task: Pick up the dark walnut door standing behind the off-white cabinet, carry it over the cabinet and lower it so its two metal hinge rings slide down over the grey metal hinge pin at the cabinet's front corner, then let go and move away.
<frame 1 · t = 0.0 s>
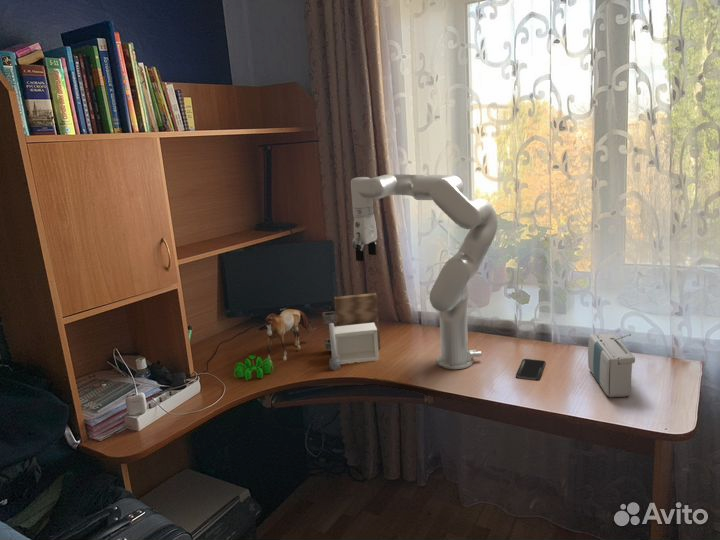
hand: (366, 257, 212), 37 cm above the table, tool pointing down, fingers open, 9 cm apart
cabinet: (356, 358, 217), on the table
stereo radio cassette player: (609, 384, 182), on the table
green lumpy cluster: (254, 374, 210), on the table
phone: (531, 371, 196), on the table
horse figurine: (295, 355, 224), on the table
walnut door: (359, 349, 225), on the table
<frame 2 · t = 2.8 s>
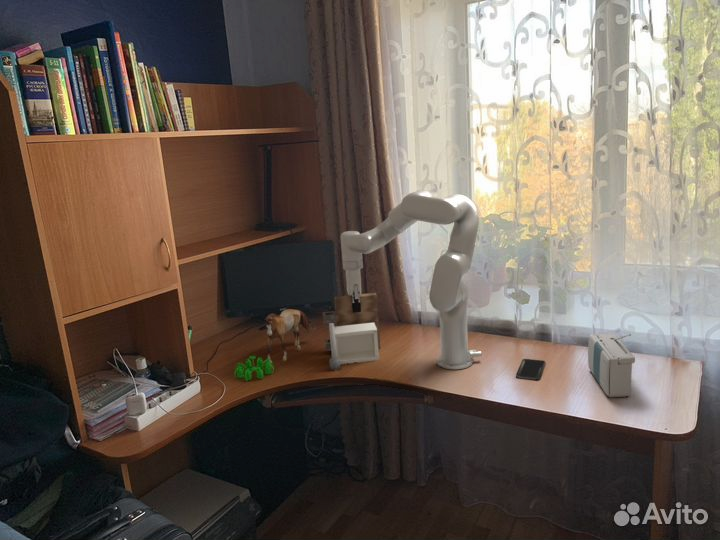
hand: (356, 310, 221), 16 cm above the table, tool pointing down, fingers closed on walnut door, 3 cm apart
walnut door: (359, 349, 225), on the table, touching gripper
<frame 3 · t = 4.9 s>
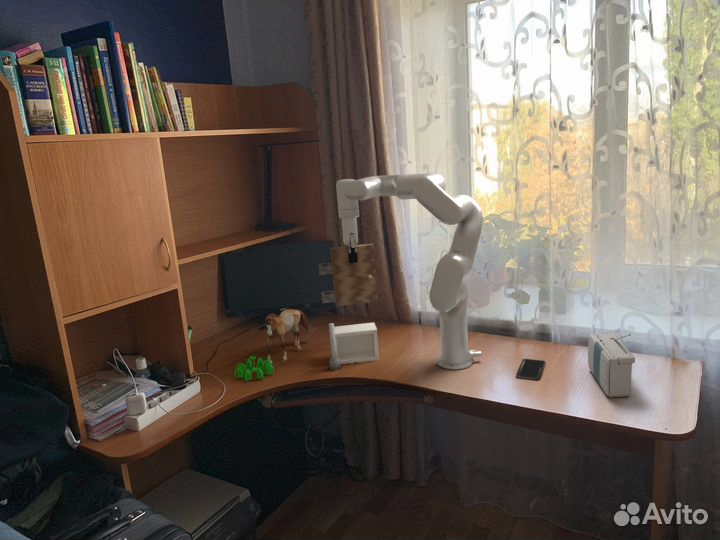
hand: (353, 261, 216), 36 cm above the table, tool pointing down, fingers closed on walnut door, 3 cm apart
walnut door: (356, 302, 220), point 19 cm above the table, touching gripper
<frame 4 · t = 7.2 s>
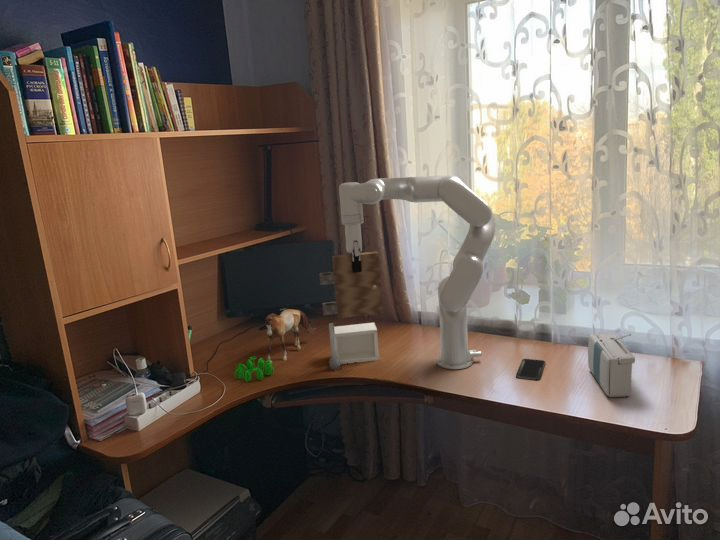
hand: (356, 270, 201), 36 cm above the table, tool pointing down, fingers closed on walnut door, 3 cm apart
walnut door: (360, 314, 205), point 19 cm above the table, touching gripper
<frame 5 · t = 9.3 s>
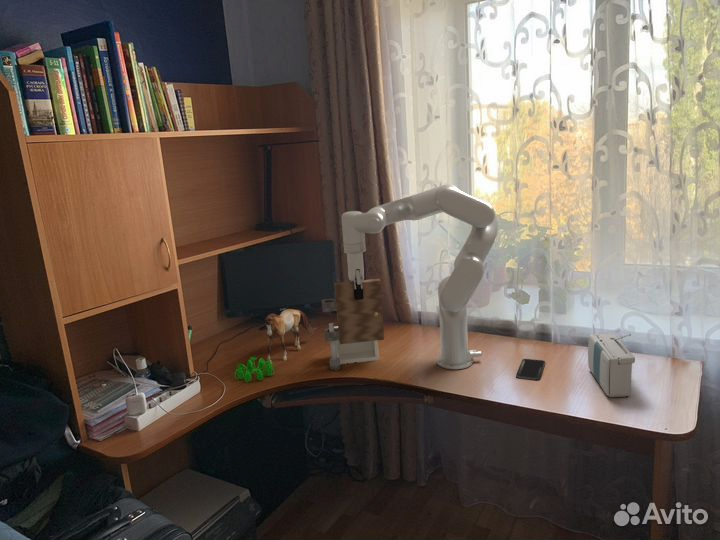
hand: (358, 297, 204), 26 cm above the table, tool pointing down, fingers closed on walnut door, 3 cm apart
walnut door: (361, 340, 208), point 10 cm above the table, touching gripper
when the fingers open (18 cm above the table, at t = 11.5 s): walnut door stays where it is, resting on cabinet.
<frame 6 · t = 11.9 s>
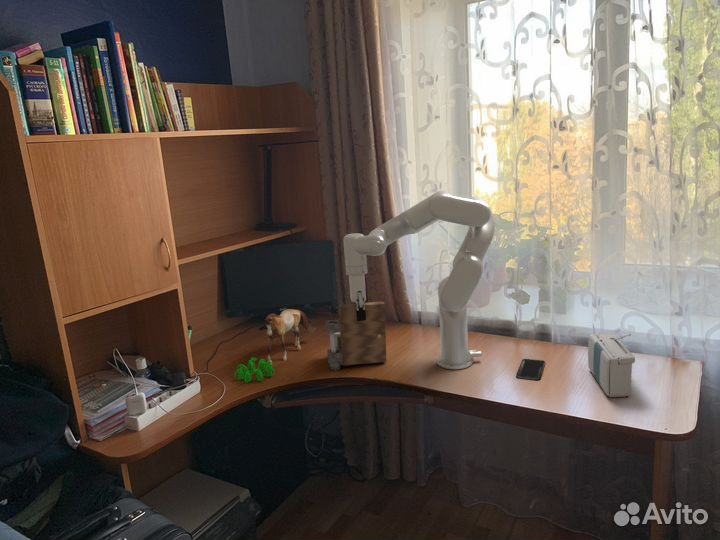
hand: (360, 316, 205), 19 cm above the table, tool pointing down, fingers open, 7 cm apart
walnut door: (364, 361, 210), point 1 cm above the table, touching cabinet
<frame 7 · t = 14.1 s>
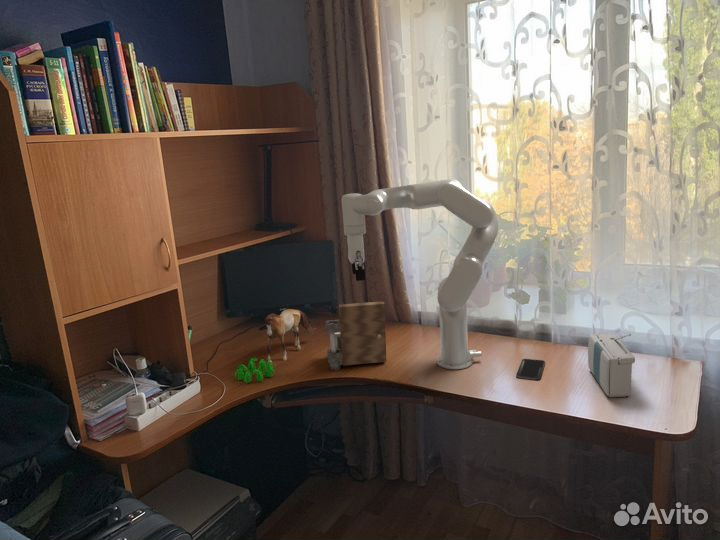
hand: (358, 276, 204), 33 cm above the table, tool pointing down, fingers open, 9 cm apart
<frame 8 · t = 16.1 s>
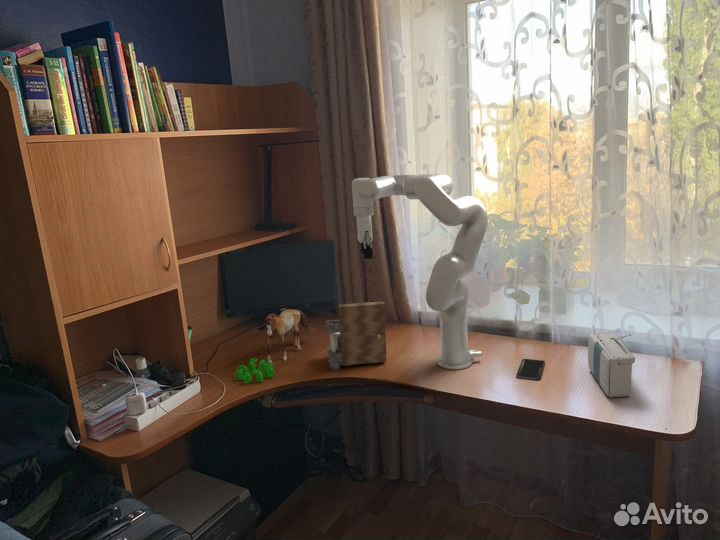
hand: (367, 255, 220), 36 cm above the table, tool pointing down, fingers open, 9 cm apart
at the end: walnut door 0.1 cm from the target spot on the cabinet, point 1.2 cm above the cabinet's base; walnut door tilted 2°; the gripper is holding nothing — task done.
